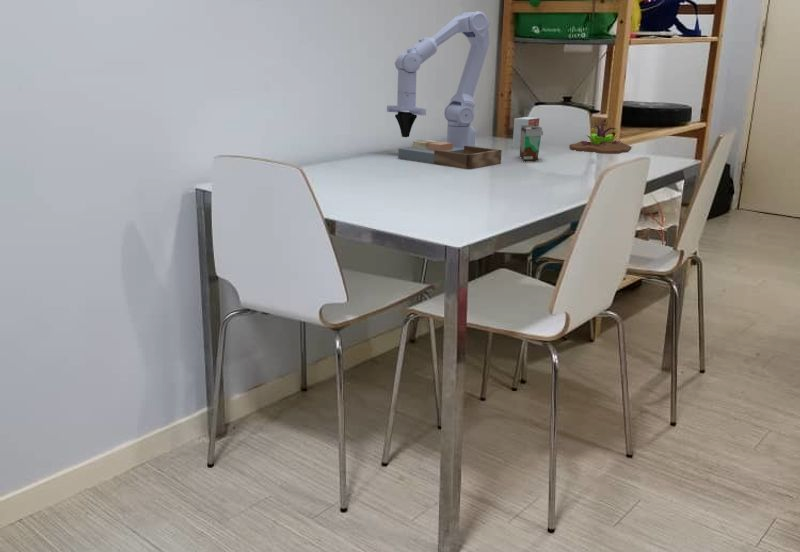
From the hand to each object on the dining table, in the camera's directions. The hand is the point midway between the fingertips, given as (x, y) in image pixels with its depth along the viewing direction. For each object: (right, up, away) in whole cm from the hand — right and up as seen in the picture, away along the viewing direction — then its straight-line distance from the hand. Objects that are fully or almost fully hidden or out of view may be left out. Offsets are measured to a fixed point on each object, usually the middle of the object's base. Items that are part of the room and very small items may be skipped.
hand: (405, 136), depth 250 cm
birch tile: (+6, -4, -4) cm, 8 cm away
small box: (+41, -1, +21) cm, 46 cm away
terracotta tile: (+11, -5, -8) cm, 14 cm away
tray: (+18, -10, -14) cm, 25 cm away
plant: (+67, -2, +19) cm, 69 cm away
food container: (+39, -8, -3) cm, 40 cm away
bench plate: (+8, -8, -5) cm, 12 cm away
